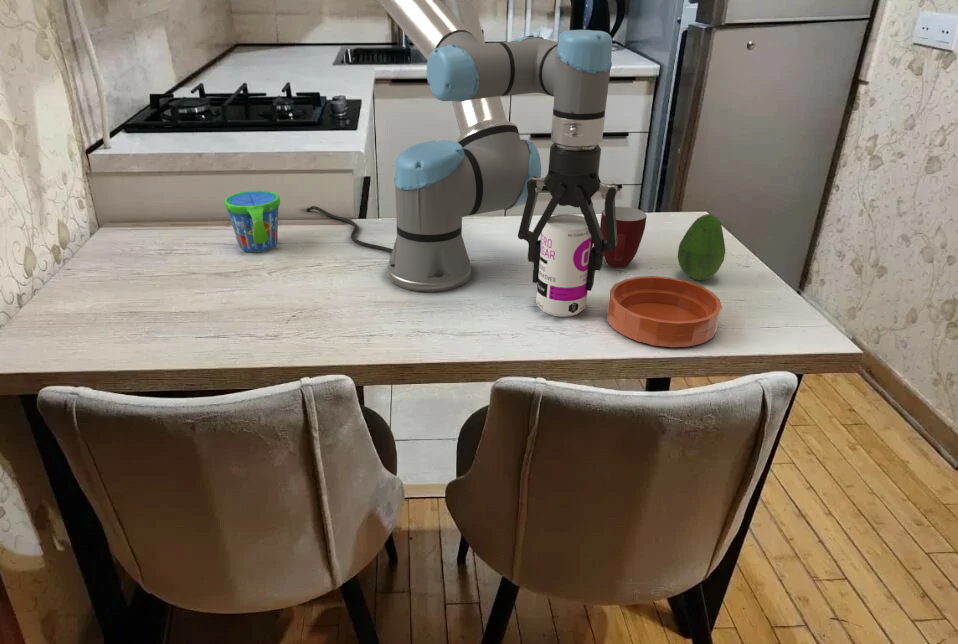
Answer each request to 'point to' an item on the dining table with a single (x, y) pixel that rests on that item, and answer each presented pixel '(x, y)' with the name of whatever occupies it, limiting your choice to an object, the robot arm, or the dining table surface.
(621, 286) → the bowl
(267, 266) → the dining table surface
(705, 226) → the avocado
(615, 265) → the mug
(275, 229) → the snack cup
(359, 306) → the dining table surface
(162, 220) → the dining table surface
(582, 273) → the supplement can
